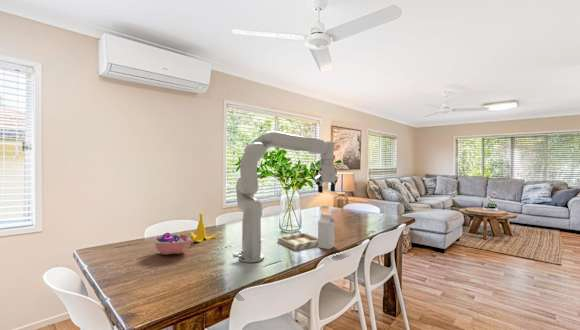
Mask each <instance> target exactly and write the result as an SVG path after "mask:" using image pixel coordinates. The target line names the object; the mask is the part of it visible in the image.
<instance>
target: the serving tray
mask: <svg viewBox="0 0 580 330" xmlns="http://www.w3.org/2000/svg"><path fill="white" fill-rule="evenodd" d="M277 243H279V244H281V245H283V246H284V247H286V248H288V249H291V250H293V251H297V250H298V251H299V250H303V249H308V248H312V247H313V248H314V247H318V237H316V236H313V235H311V234H309V233H306V232H302V233H296V234H291V235H284V236H279V237H277Z"/></svg>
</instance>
